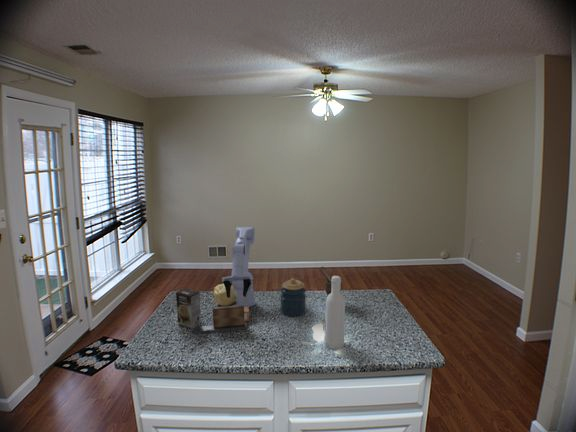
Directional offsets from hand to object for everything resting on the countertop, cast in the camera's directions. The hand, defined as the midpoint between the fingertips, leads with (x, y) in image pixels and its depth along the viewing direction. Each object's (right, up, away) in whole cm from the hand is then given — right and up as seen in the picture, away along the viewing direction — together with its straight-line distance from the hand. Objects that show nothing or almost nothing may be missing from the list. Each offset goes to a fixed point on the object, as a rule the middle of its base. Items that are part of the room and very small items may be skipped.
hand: (236, 296), depth 152 cm
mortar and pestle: (+46, -10, +27) cm, 54 cm away
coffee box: (-23, -15, +7) cm, 28 cm away
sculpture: (-10, -10, +28) cm, 32 cm away
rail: (-8, -15, +2) cm, 17 cm away
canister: (+26, -12, +19) cm, 35 cm away
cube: (+2, -13, +12) cm, 18 cm away
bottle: (+43, -18, -10) cm, 48 cm away
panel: (-4, -14, +2) cm, 14 cm away
